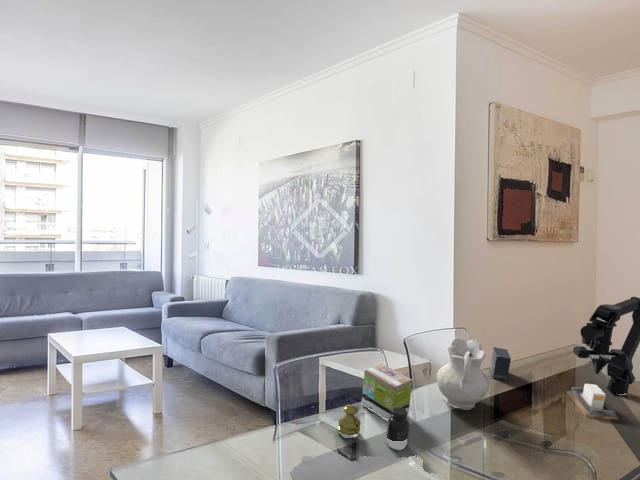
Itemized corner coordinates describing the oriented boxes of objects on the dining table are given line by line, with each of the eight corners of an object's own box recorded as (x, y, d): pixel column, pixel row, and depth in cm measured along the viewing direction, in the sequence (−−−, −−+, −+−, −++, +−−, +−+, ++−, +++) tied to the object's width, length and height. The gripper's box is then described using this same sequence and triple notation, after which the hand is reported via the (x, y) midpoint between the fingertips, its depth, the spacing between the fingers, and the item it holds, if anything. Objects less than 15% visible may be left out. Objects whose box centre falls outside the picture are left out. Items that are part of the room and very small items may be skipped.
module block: (593, 398, 199) (596, 384, 198) (602, 409, 191) (605, 394, 190) (582, 397, 199) (584, 383, 198) (590, 407, 191) (593, 393, 190)
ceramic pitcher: (492, 424, 179) (507, 360, 175) (439, 416, 179) (453, 352, 174) (475, 394, 200) (488, 337, 196) (427, 387, 200) (440, 330, 195)
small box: (508, 381, 212) (511, 358, 210) (492, 378, 213) (495, 356, 211) (504, 370, 222) (507, 348, 220) (489, 368, 223) (492, 346, 221)
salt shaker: (332, 432, 165) (335, 405, 163) (347, 424, 170) (349, 397, 168) (349, 442, 160) (352, 414, 158) (364, 433, 165) (366, 406, 163)
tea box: (360, 406, 183) (363, 369, 180) (378, 398, 189) (382, 362, 186) (391, 425, 172) (395, 386, 169) (409, 416, 178) (413, 378, 175)
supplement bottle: (408, 441, 163) (412, 408, 160) (404, 453, 156) (409, 419, 154) (388, 436, 165) (391, 403, 163) (383, 447, 159) (387, 413, 156)
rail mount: (596, 396, 204) (598, 389, 203) (618, 420, 186) (619, 413, 186) (566, 393, 205) (568, 386, 204) (585, 416, 187) (586, 409, 187)
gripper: (616, 331, 204) (610, 366, 207) (570, 327, 205) (564, 362, 208) (631, 342, 193) (624, 378, 196) (582, 338, 194) (575, 374, 197)
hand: (596, 373), depth 199 cm, fingers closed
